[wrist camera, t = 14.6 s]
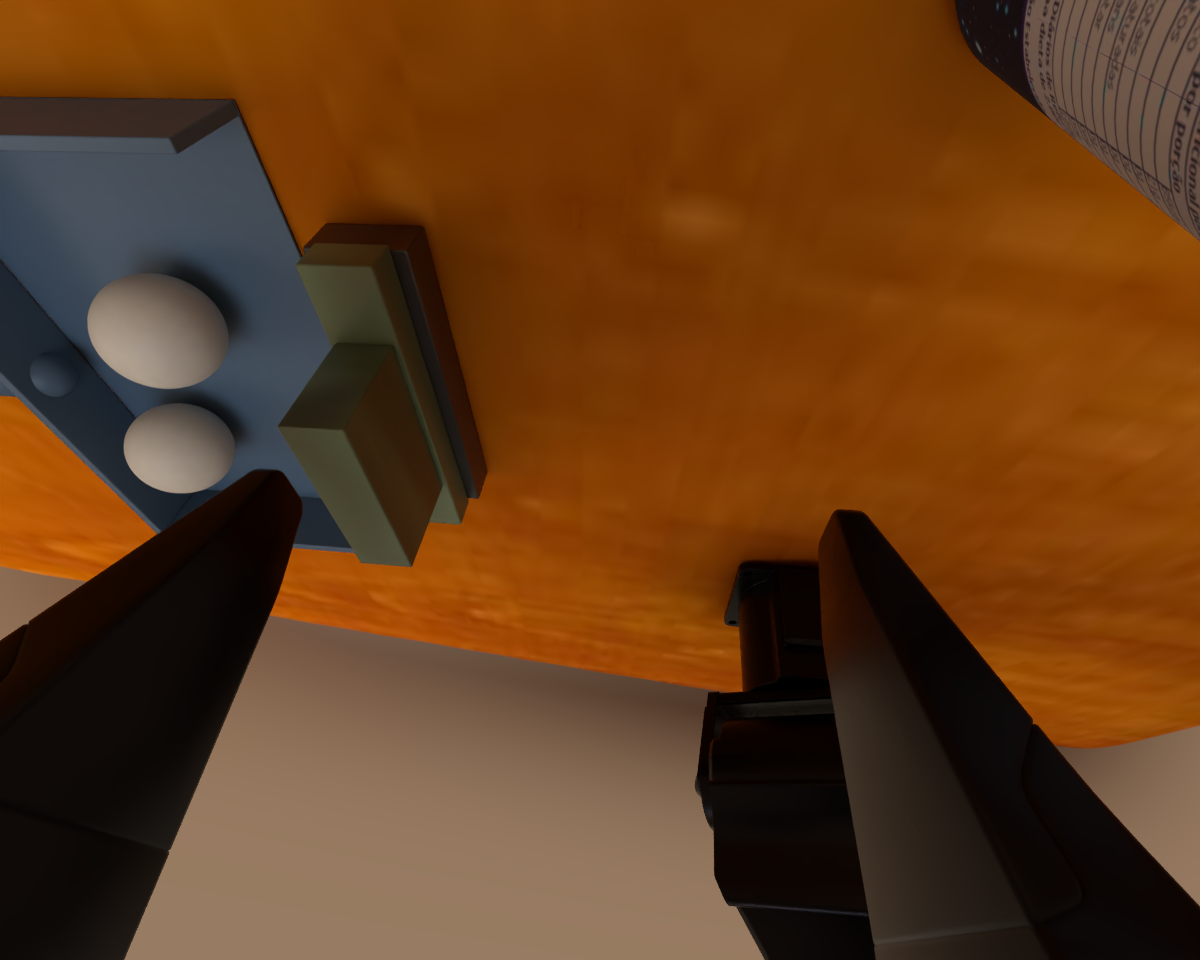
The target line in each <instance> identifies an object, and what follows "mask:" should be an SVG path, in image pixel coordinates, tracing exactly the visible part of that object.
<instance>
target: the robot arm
mask: <svg viewBox="0 0 1200 960" xmlns="http://www.w3.org/2000/svg"><path fill="white" fill-rule="evenodd" d="M302 513H303V503H302V500H301V498H300V496H299V495H298V493H297V492H296V490H295V489H294V487H293V486H292V484H291V483H290V481H289V480H288V478H287V477H286V475H285V474H284V473H283V472H282V471H280V470H276V469H262V468H259V469H254V470H252V471H250V472H248V473H247V474H245V475H244V476H242V477H241V478H239V479H238V480H237V481H235V482H234V483H232V484H231V485H229V486H228V487H226V488H225V489H223V490H222V491H220V492H219V493H217V494H216V495H214V496H213V497H211V498H210V499H208V500H207V501H206V502H204V503H203V504H201V505H200V506H198V507H197V508H195V509H194V510H192V511H191V512H189V513H188V514H186V515H185V516H183V517H182V518H180V519H179V520H178V521H176V522H175V523H173V524H172V525H170V526H169V527H167V528H166V529H164V530H163V531H161V532H160V533H158V534H157V535H155V536H154V537H152V538H151V539H150V540H148V541H147V542H145V543H144V544H142V545H141V546H139V547H138V548H136V549H135V550H133V551H132V552H130V553H129V554H127V555H126V556H124V557H123V558H122V559H120V560H119V561H117V562H116V563H114V564H113V565H111V566H110V567H108V568H107V569H105V570H104V571H102V572H101V573H99V574H98V575H96V576H95V577H93V578H92V579H91V580H89V581H88V582H86V583H85V584H83V585H82V586H80V587H79V588H77V589H76V590H74V591H73V592H71V593H70V594H68V595H67V596H66V597H64V598H62V599H61V600H60V601H58V602H57V603H55V604H54V605H52V606H51V607H49V608H48V609H46V610H45V611H43V612H42V613H40V614H39V615H38V616H36V617H34V618H33V619H32V620H30V621H29V623H28V624H25V625H23V626H21V627H20V628H18V629H17V630H15V631H14V632H12V633H11V634H9V635H8V636H6V637H5V638H3V639H2V640H0V960H124V959H125V956H126V954H127V952H128V949H129V947H130V944H131V942H132V940H133V938H134V935H135V933H136V930H137V928H138V926H139V923H140V921H141V919H142V916H143V914H144V912H145V909H146V907H147V905H148V902H149V900H150V897H151V895H152V893H153V890H154V888H155V886H156V883H157V881H158V879H159V876H160V874H161V871H162V869H163V867H164V864H165V862H166V859H167V857H168V855H169V850H170V849H171V847H172V845H173V842H174V840H175V837H176V835H177V832H178V830H179V828H180V826H181V823H182V821H183V818H184V816H185V814H186V811H187V809H188V807H189V804H190V802H191V800H192V797H193V795H194V792H195V790H196V788H197V785H198V783H199V780H200V778H201V776H202V774H203V771H204V769H205V766H206V764H207V762H208V759H209V757H210V754H211V752H212V750H213V748H214V745H215V743H216V740H217V738H218V736H219V733H220V731H221V729H222V726H223V724H224V722H225V719H226V717H227V714H228V712H229V710H230V707H231V705H232V702H233V700H234V698H235V695H236V693H237V691H238V688H239V686H240V683H241V681H242V679H243V677H244V674H245V672H246V669H247V667H248V665H249V662H250V660H251V658H252V655H253V653H254V650H255V648H256V645H257V643H258V641H259V639H260V636H261V634H262V632H263V629H264V627H265V625H266V622H267V620H268V617H269V615H270V613H271V610H272V608H273V606H274V603H275V600H276V598H277V595H278V593H279V590H280V587H281V584H282V581H283V578H284V574H285V571H286V568H287V564H288V561H289V557H290V554H291V551H292V547H293V544H294V541H295V537H296V534H297V530H298V527H299V524H300V520H301V517H302ZM818 559H819V568H810V567H798V566H785V565H772V564H760V563H743V564H741V565H740V566H739V568H738V572H737V575H736V578H735V582H734V585H733V588H732V592H731V595H730V598H729V602H728V605H727V608H726V612H725V615H724V621H725V624H726V625H728V626H736V627H739V632H740V650H741V668H742V685H743V692H730V693H720V692H719V691H718V692H708V700H707V707H705V711H704V720H703V728H702V737H701V747H700V755H699V764H698V773H697V777H696V780H695V789H696V792H697V794H698V795H699V796H700V797H701V798H702V804H703V809H704V813H705V816H706V819H707V822H708V824H709V826H710V827H711V829H712V830H714V875H715V879H716V881H717V883H718V886H719V888H720V890H721V893H722V895H723V897H724V899H725V901H726V903H727V904H728V905H729V906H736V907H737V909H738V911H739V913H740V915H741V916H742V918H743V920H744V922H745V924H746V926H747V927H748V929H749V931H750V933H751V935H752V937H753V939H754V940H755V942H756V944H757V946H758V948H759V950H760V951H761V953H762V955H763V957H764V959H765V960H1200V906H1199V905H1198V904H1197V903H1196V902H1195V901H1194V900H1193V899H1192V898H1191V897H1190V896H1189V894H1188V893H1187V892H1186V891H1185V890H1184V889H1183V888H1182V887H1181V886H1180V885H1179V884H1178V883H1177V882H1176V881H1175V879H1174V878H1173V877H1172V876H1171V875H1170V874H1169V873H1168V872H1167V871H1166V870H1165V869H1164V868H1163V867H1162V866H1161V865H1160V864H1159V863H1158V861H1157V860H1156V859H1155V858H1154V857H1153V856H1152V855H1151V854H1150V853H1149V852H1148V851H1147V850H1146V849H1145V848H1144V847H1143V846H1142V845H1141V843H1140V842H1139V841H1138V840H1137V839H1136V838H1135V837H1134V836H1133V835H1132V834H1131V833H1130V832H1129V830H1128V829H1127V828H1126V827H1125V826H1124V825H1123V824H1122V823H1121V822H1120V821H1119V819H1118V818H1117V817H1116V816H1115V815H1114V814H1113V813H1112V812H1111V811H1110V810H1109V809H1108V807H1107V806H1106V805H1105V804H1104V803H1103V802H1102V801H1101V800H1100V799H1099V798H1098V796H1097V795H1096V794H1095V793H1094V792H1093V791H1092V790H1091V788H1090V787H1089V786H1088V785H1087V784H1086V782H1085V781H1084V780H1083V779H1082V778H1081V777H1080V775H1079V774H1078V773H1077V772H1076V771H1075V769H1074V768H1073V767H1072V766H1071V765H1070V764H1069V762H1068V761H1067V760H1066V759H1065V758H1064V756H1063V755H1062V754H1061V753H1060V752H1059V751H1058V749H1057V748H1056V747H1055V746H1054V744H1053V743H1052V742H1051V741H1050V739H1049V738H1048V737H1047V736H1046V735H1045V733H1044V732H1043V731H1042V730H1041V728H1040V727H1039V726H1038V725H1036V724H1033V719H1032V718H1031V716H1030V715H1029V714H1028V713H1027V711H1026V710H1025V709H1024V708H1023V707H1022V705H1021V704H1020V703H1019V702H1018V700H1017V699H1016V698H1015V697H1014V695H1013V694H1012V693H1011V692H1010V691H1009V689H1008V688H1007V687H1006V686H1005V684H1004V683H1003V682H1002V681H1001V679H1000V678H999V677H998V676H997V675H996V673H995V672H994V671H993V670H992V668H991V667H990V666H989V665H988V664H987V662H986V661H985V660H984V659H983V657H982V656H981V655H980V654H979V652H978V651H977V650H976V649H975V648H974V646H973V645H972V644H971V643H970V641H969V640H968V639H967V638H966V636H965V635H964V634H963V633H962V632H961V630H960V629H959V628H958V627H957V625H956V624H955V623H954V622H953V620H952V619H951V618H950V617H949V616H948V614H947V613H946V612H945V611H944V609H943V608H942V607H941V606H940V604H939V603H938V602H937V601H936V600H935V598H934V597H933V596H932V595H931V593H930V592H929V591H928V590H927V588H926V587H925V586H924V585H923V584H922V582H921V581H920V580H919V579H918V577H917V576H916V575H915V574H914V572H913V571H912V570H911V569H910V568H909V566H908V565H907V564H906V563H905V561H904V560H903V559H902V558H901V556H900V555H899V554H898V553H897V552H896V550H895V549H894V548H893V547H892V545H891V544H890V543H889V542H888V540H887V539H886V538H885V537H884V536H883V534H882V533H881V532H880V531H879V529H878V528H877V527H876V526H875V524H874V523H873V522H872V521H871V520H870V518H869V517H868V516H867V515H866V514H865V513H863V512H862V511H857V510H843V509H838V510H836V511H834V512H833V514H832V515H831V517H830V520H829V522H828V524H827V526H826V528H825V530H824V532H823V534H822V537H821V539H820V542H819V548H818Z"/></svg>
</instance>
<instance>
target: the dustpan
mask: <svg viewBox="0 0 1200 960" xmlns="http://www.w3.org/2000/svg"><path fill="white" fill-rule="evenodd" d="M301 258H302V256H301V254H300V251H299V249H298V247H297V244H296V242H295V240H294V237H293V235H292V233H291V230H290V228H289V226H288V224H287V221H286V219H285V217H284V214H283V212H282V210H281V207H280V205H279V203H278V200H277V198H276V196H275V194H274V191H273V189H272V187H271V184H270V182H269V180H268V177H267V175H266V173H265V170H264V168H263V166H262V164H261V161H260V159H259V157H258V154H257V152H256V150H255V147H254V145H253V143H252V140H251V138H250V136H249V133H248V131H247V129H246V127H245V124H244V122H243V120H242V117H241V115H240V113H239V110H238V108H237V106H236V103H235V101H234V100H220V99H134V98H48V97H0V259H1V260H2V261H3V263H4V264H5V265H6V266H7V267H8V268H9V270H10V271H11V272H12V273H13V274H14V276H15V277H16V278H17V279H18V280H19V281H20V283H21V284H22V285H23V286H24V287H25V288H26V290H27V291H28V292H29V293H30V294H31V295H32V297H33V298H34V299H35V300H36V301H37V302H36V301H35V300H34V299H33V298H32V297H31V295H30V294H29V293H28V292H27V291H26V290H25V288H24V287H23V286H22V285H21V284H20V283H19V281H18V280H17V279H16V278H15V277H14V276H13V274H12V273H11V272H10V271H9V270H8V269H7V267H6V266H5V265H4V264H3V263H2V261H1V260H0V396H14V397H17V398H18V399H19V400H21V401H22V402H23V403H24V404H25V405H26V406H27V407H28V408H29V409H30V410H31V411H32V412H33V413H34V414H35V415H36V416H37V417H38V418H39V419H40V420H41V421H42V422H43V423H44V424H45V425H46V426H47V427H48V428H49V429H50V430H51V431H52V432H53V433H54V434H55V435H56V436H57V437H58V438H60V439H61V440H62V441H63V442H64V443H65V444H66V445H67V446H68V447H69V448H70V449H71V450H72V451H73V452H74V453H75V454H76V455H77V456H78V457H79V458H80V459H81V460H82V461H83V462H84V463H85V464H86V465H87V466H88V467H89V468H90V469H91V470H92V471H93V472H94V473H95V474H96V475H97V476H99V477H100V478H101V479H102V480H103V481H104V482H105V483H106V484H107V485H108V486H109V487H110V488H111V489H112V490H113V491H114V492H115V493H116V494H117V495H118V496H119V497H120V498H121V499H122V500H123V501H124V502H125V503H126V504H127V505H128V506H129V507H130V508H131V509H132V510H133V511H134V512H135V513H136V514H138V515H139V516H140V517H141V518H142V519H143V520H144V521H145V522H146V523H147V524H148V525H149V526H150V527H151V528H152V529H153V530H154V531H155V532H156V533H157V534H158V533H160V532H161V531H163V530H164V529H166V528H167V527H169V526H170V525H172V524H173V523H175V522H176V521H178V520H179V519H180V518H182V517H183V516H185V515H186V514H188V513H189V512H191V511H192V510H194V509H195V508H197V507H198V506H200V505H201V504H203V503H204V502H206V501H207V500H208V499H210V498H211V497H213V496H214V495H216V494H217V493H219V492H220V491H222V490H223V489H225V488H226V487H228V486H229V485H231V484H232V483H234V482H235V481H237V480H238V479H239V478H241V477H242V476H244V475H245V474H247V473H248V472H250V471H252V470H254V469H259V468H262V469H276V470H280V471H282V472H283V473H284V474H285V475H286V477H287V478H288V480H289V481H290V483H291V484H292V486H293V487H294V489H295V490H296V492H297V493H298V495H299V496H300V498H301V500H302V503H303V513H302V517H301V520H300V524H299V527H298V530H297V534H296V537H295V541H294V544H293V547H292V548H302V549H314V550H326V551H338V552H350V553H355V552H354V551H353V549H352V547H351V546H350V544H349V543H348V541H347V539H346V538H345V536H344V534H343V533H342V531H341V530H340V528H339V526H338V525H337V523H336V522H335V520H334V518H333V517H332V515H331V513H330V512H329V510H328V509H327V507H326V505H325V504H324V502H323V500H322V499H321V497H320V496H319V494H318V492H317V491H316V489H315V488H314V486H313V484H312V483H311V481H310V479H309V478H308V476H307V475H306V473H305V471H304V470H303V468H302V467H301V465H300V463H299V462H298V460H297V458H296V457H295V455H294V454H293V452H292V450H291V449H290V447H289V446H288V444H287V442H286V441H285V439H284V437H283V436H282V434H281V433H280V431H279V429H278V427H277V426H278V424H279V423H280V422H281V420H282V419H283V417H284V416H285V414H286V413H287V412H288V410H289V409H290V407H291V406H292V404H293V403H294V401H295V400H296V399H297V397H298V396H299V394H300V393H301V391H302V390H303V389H304V387H305V386H306V384H307V383H308V381H309V380H310V379H311V377H312V376H313V374H314V373H315V371H316V370H317V369H318V367H319V366H320V364H321V363H322V361H323V360H324V359H325V357H326V356H327V354H328V353H329V351H330V350H331V348H332V346H331V344H330V341H329V339H328V337H327V335H326V333H325V330H324V328H323V326H322V324H321V321H320V319H319V317H318V315H317V313H316V310H315V308H314V306H313V304H312V302H311V299H310V297H309V295H308V293H307V291H306V288H305V286H304V284H303V282H302V280H301V277H300V275H299V273H298V271H297V269H296V263H297V262H298V261H299V260H300V259H301ZM138 273H157V274H163V275H168V276H172V277H175V278H178V279H181V280H183V281H185V282H187V283H189V284H191V285H193V286H195V287H196V288H198V289H199V290H201V291H202V292H203V293H204V294H205V295H207V296H208V297H209V298H210V299H211V300H212V301H213V302H214V303H215V305H216V306H217V307H218V309H219V310H220V312H221V314H222V316H223V317H224V320H225V322H226V325H227V329H228V334H229V345H228V351H227V354H226V357H225V359H224V361H223V362H222V364H221V366H220V367H219V368H218V369H217V371H216V372H214V373H213V374H212V375H211V376H210V377H208V378H207V379H205V380H203V381H201V382H199V383H197V384H195V385H191V386H188V387H182V388H175V389H163V388H155V387H149V386H145V385H142V384H139V383H136V382H134V381H131V380H129V379H127V378H125V377H124V376H122V375H120V374H119V373H117V372H116V371H115V370H113V369H112V368H111V367H110V366H109V365H108V364H107V363H106V362H105V361H103V359H102V358H101V357H100V356H99V354H98V353H97V351H96V349H95V348H94V346H93V344H92V342H91V339H90V336H89V332H88V322H87V317H88V312H89V308H90V306H91V303H92V301H93V299H94V298H95V297H96V295H97V294H98V292H99V291H100V290H101V289H103V288H104V287H105V286H106V285H108V284H109V283H111V282H112V281H114V280H116V279H119V278H121V277H124V276H127V275H131V274H138ZM37 303H38V304H39V305H40V306H41V307H42V308H43V309H42V308H41V307H40V306H39V305H38V304H37ZM43 310H44V311H45V312H46V313H47V314H48V315H49V317H50V318H51V319H52V320H53V321H54V322H55V324H56V325H57V326H58V327H59V328H60V329H61V331H62V332H63V333H64V334H65V335H66V336H65V335H64V334H63V333H62V332H61V331H60V329H59V328H58V327H57V326H56V325H55V324H54V322H53V321H52V320H51V319H50V318H49V317H48V315H47V314H46V313H45V312H44V311H43ZM66 337H67V338H68V339H69V340H70V341H71V342H72V343H71V342H70V341H69V340H68V339H67V338H66ZM72 344H73V345H74V346H75V347H76V348H77V349H78V350H77V349H76V348H75V347H74V346H73V345H72ZM78 351H79V352H80V353H81V354H82V355H83V356H84V357H83V356H82V355H81V354H80V353H79V352H78ZM84 358H85V359H86V360H87V361H88V362H89V363H90V365H91V366H92V367H93V368H94V369H95V370H94V369H93V368H92V367H91V366H90V365H89V363H88V362H87V361H86V360H85V359H84ZM95 371H96V372H97V373H98V374H99V375H100V376H101V377H100V376H99V375H98V374H97V373H96V372H95ZM101 378H102V379H103V380H104V381H105V382H106V383H107V384H106V383H105V382H104V381H103V380H102V379H101ZM107 385H108V386H109V387H110V388H111V389H112V390H113V391H112V390H111V389H110V388H109V387H108V386H107ZM113 392H114V393H115V394H116V395H117V396H118V397H119V398H118V397H117V396H116V395H115V394H114V393H113ZM119 399H120V400H121V401H122V402H123V403H124V404H123V403H122V402H121V401H120V400H119ZM172 403H184V404H191V405H195V406H199V407H202V408H204V409H206V410H208V411H210V412H212V413H214V414H215V415H217V416H218V417H219V418H220V419H221V420H222V421H223V422H224V423H225V424H226V425H227V426H228V428H229V429H230V431H231V433H232V435H233V438H234V441H235V457H234V462H233V464H232V466H231V468H230V470H229V471H228V473H227V474H226V475H225V476H224V477H223V478H222V479H221V480H220V481H219V482H217V483H216V484H214V485H213V486H211V487H209V488H207V489H204V490H201V491H197V492H192V493H170V492H165V491H161V490H159V489H156V488H153V487H151V486H149V485H148V484H146V483H144V482H143V481H142V480H140V479H139V478H138V477H137V476H136V475H135V474H134V473H133V471H132V470H131V469H130V467H129V465H128V463H127V461H126V459H125V455H124V439H125V435H126V433H127V431H128V429H129V427H130V426H131V424H132V423H133V422H134V420H135V419H136V418H137V417H139V416H140V415H141V414H143V413H144V412H146V411H148V410H150V409H152V408H154V407H157V406H160V405H165V404H172ZM125 406H126V407H127V408H128V409H129V410H130V411H129V410H128V409H127V408H126V407H125ZM130 412H131V413H132V414H133V415H134V416H135V417H136V418H135V417H134V416H133V415H132V414H131V413H130Z"/></svg>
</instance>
